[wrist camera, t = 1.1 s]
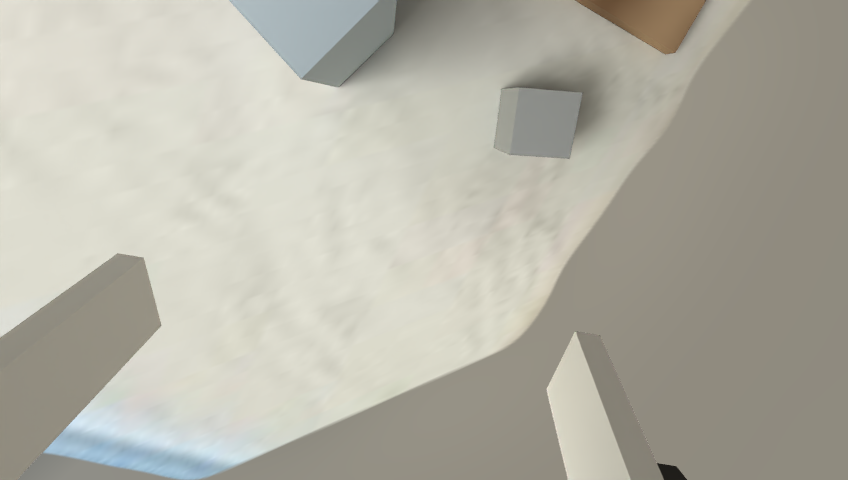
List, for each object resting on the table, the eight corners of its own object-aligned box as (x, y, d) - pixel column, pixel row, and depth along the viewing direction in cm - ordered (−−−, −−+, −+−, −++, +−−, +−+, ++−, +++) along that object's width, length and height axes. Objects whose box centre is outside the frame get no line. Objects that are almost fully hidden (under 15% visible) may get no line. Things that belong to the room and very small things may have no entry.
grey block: (493, 147, 28) (509, 154, 25) (501, 89, 27) (519, 87, 23) (545, 150, 29) (569, 158, 25) (555, 93, 27) (582, 92, 24)
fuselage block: (338, 87, 26) (300, 78, 15) (281, 22, 24) (190, -42, 13) (393, 33, 25) (398, -19, 14) (338, -37, 24) (293, -161, 12)
